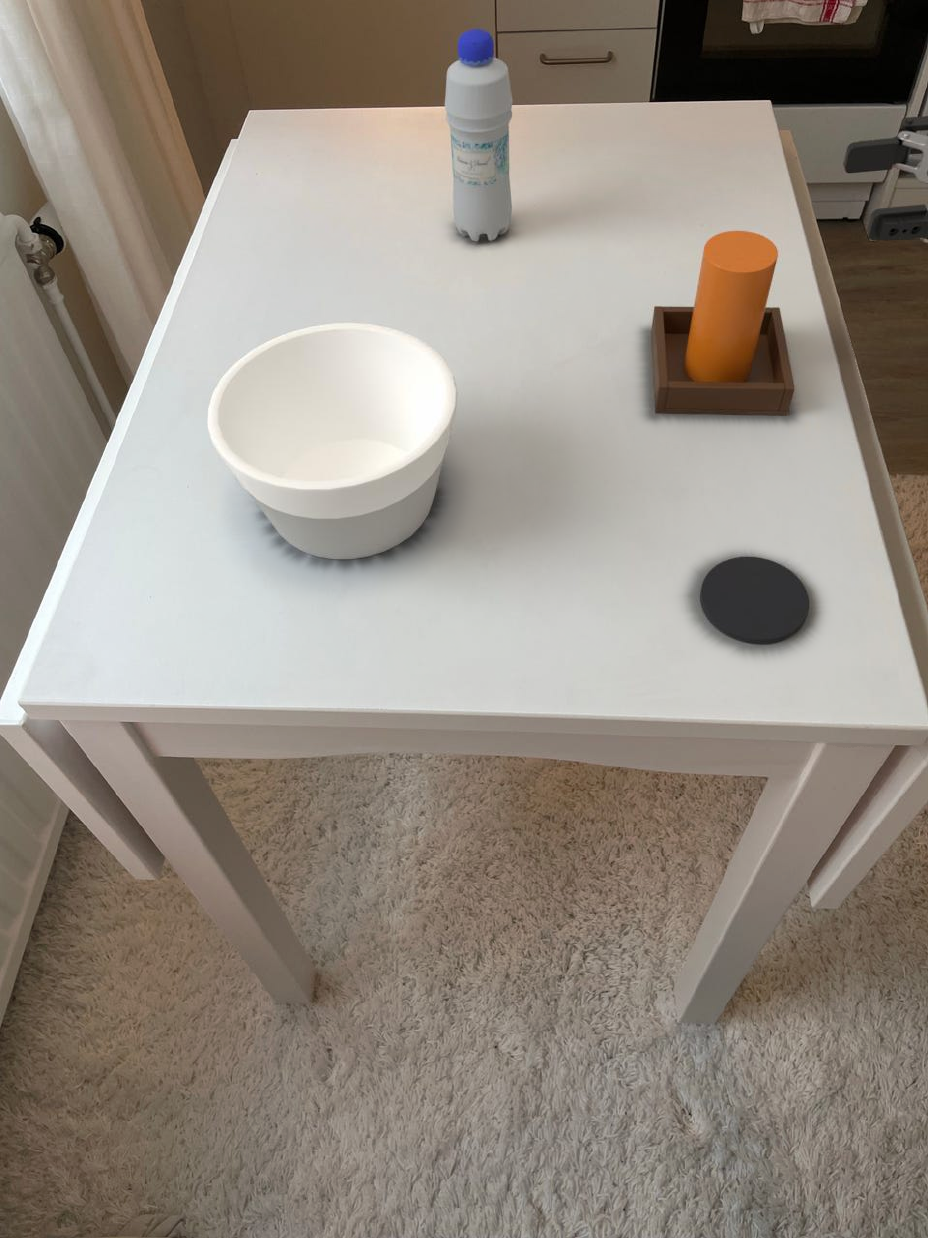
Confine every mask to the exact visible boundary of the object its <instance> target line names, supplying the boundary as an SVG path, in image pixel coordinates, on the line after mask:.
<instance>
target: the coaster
mask: <svg viewBox="0 0 928 1238" xmlns="http://www.w3.org/2000/svg"><path fill="white" fill-rule="evenodd" d="M808 594H809V593H808V591H807V589H806V587H805V586H804V584H803V582H802V581H801V579H800V578H799V577H798V576H797V575H796V574H795V573H794V572H793V571H791V570H790V569H789V568H788V567H785V566H784V565H783V564H780V563H778V562H776V561H773V560H770V559H768V558H763V557H758V556H738V557H732V558H729V559H725V560H723V561H721V562H719V563H717V564H716V565H715V566H714V567H712V568H711V569H710V570H709V571H708V573H707V574H706V575H705V577H704V578H703V581H702V583H701V588H700V592H699V600H700V605H701V608H702V612H703V614H704V615H705V617H706V618H707V619H708V620H709V623H711V625H713V626H714V627H715V628H716V629H717V630H718V631H720V632H721V633H722V634H724V635H726V636H727V637H730V638H732V639H734V640H737V641H740V642H744V643H748V644H755V645H756V644H757V645H767V644H774V643H778V642H781V641H784V640H786V639H788V638H790V637H791V636H793V635H795V634H796V633H797V632H798V631H799V630H800V629H801V628H802V627H803V625H804V623H805V621H806V619H807V616H808V614H809V611H810V610H809V609H810V600H809V595H808Z"/></svg>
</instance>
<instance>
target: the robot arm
mask: <svg viewBox="0 0 928 1238" xmlns="http://www.w3.org/2000/svg"><path fill="white" fill-rule="evenodd" d="M924 131H928V115H924V116H908V117H907V116H906V117H904V118H902V119H901V121H900V123H899V128H898V131H897V135H896V136H894V137H888V138H880V139H868V140H859V141H853V142H851V143H850V144H848V145H847V147H846V150H845V155H844V157H843V163H842V165H843V169H844V171H845V173H846V174H859V173H870V172H881V171H892V169H893V168H894V169H896V170H900V171H904V172H907V173H909V174H913V175H914V176H915V178H916V180H917V181H918V182H919V183H923V184H926V185H928V133H927V135H925V134H921V133H917V132H924ZM920 154H921V155H922V157H921V159H919V158H915V157H913V156H912V157H911V156H910V155H920ZM866 234H867V236H868V238H869V240H871V241H884V242H889V241H899V240H912V239H920V241H921V242H923V243H926V244H928V208H927V205H926V204H925V203H924V204H914V205H903V206H893V207H891V206H890V207H880V208H876V209H875V210H873V211H872V212H871V214H870V217H869V221H868V224H867V228H866Z"/></svg>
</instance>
